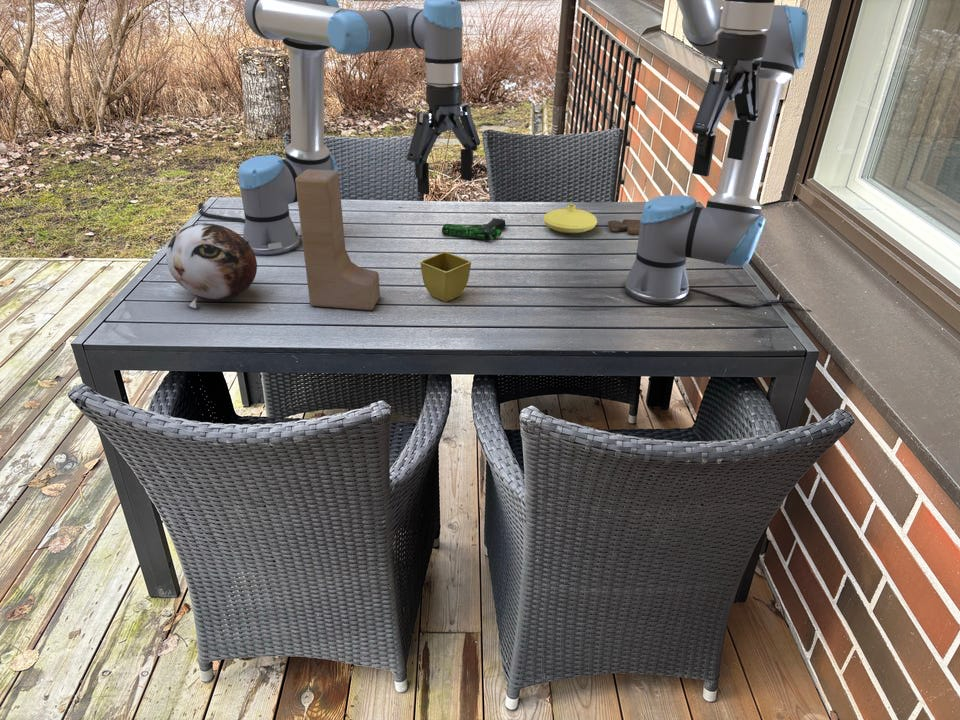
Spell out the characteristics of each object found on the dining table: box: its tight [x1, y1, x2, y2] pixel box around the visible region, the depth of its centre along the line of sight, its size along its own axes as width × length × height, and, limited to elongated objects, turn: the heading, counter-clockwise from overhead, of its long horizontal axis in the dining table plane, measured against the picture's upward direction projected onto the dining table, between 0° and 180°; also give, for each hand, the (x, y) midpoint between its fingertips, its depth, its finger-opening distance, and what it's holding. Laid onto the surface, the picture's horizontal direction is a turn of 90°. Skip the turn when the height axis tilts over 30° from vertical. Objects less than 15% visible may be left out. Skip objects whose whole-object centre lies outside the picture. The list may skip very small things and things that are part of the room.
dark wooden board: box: [607, 219, 640, 235], centre depth 211 cm, size 26×2×10 cm
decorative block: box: [295, 169, 381, 311], centre depth 159 cm, size 8×15×30 cm, turn 82°
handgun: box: [441, 217, 506, 242], centre depth 207 cm, size 16×3×15 cm
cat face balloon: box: [165, 222, 258, 309], centre depth 165 cm, size 22×18×20 cm
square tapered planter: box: [419, 251, 472, 303], centre depth 169 cm, size 9×9×9 cm
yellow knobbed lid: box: [543, 203, 598, 234], centre depth 209 cm, size 16×16×7 cm
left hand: (445, 186), depth 157 cm, fingers open, 13 cm apart
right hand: (718, 166), depth 123 cm, fingers open, 13 cm apart
